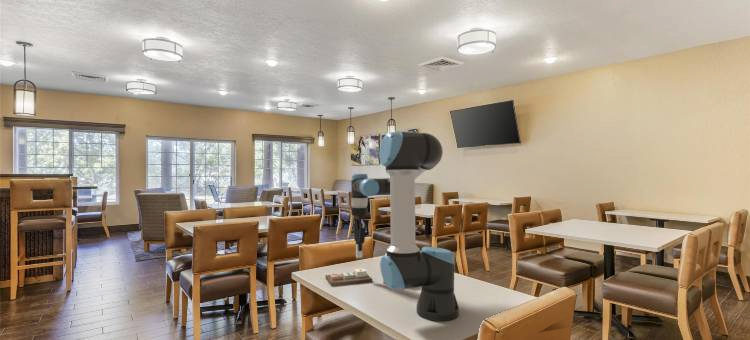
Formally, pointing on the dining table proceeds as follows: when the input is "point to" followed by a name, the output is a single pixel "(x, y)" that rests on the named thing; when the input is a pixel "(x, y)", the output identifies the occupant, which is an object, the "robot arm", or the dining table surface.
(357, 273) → the tile
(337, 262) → the dining table surface
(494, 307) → the dining table surface
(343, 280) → the board
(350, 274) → the tile
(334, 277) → the tile
